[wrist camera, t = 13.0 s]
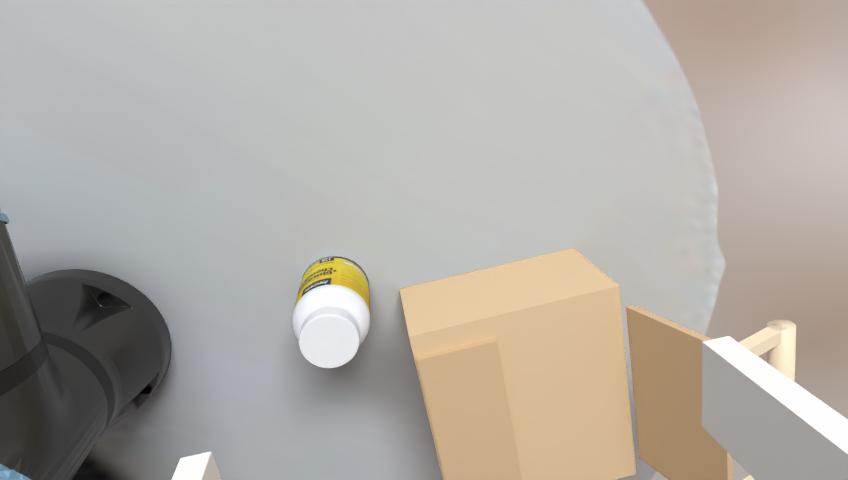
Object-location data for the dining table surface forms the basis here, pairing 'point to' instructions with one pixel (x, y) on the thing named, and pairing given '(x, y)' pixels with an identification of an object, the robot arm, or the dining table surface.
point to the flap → (686, 392)
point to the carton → (524, 371)
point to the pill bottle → (332, 311)
